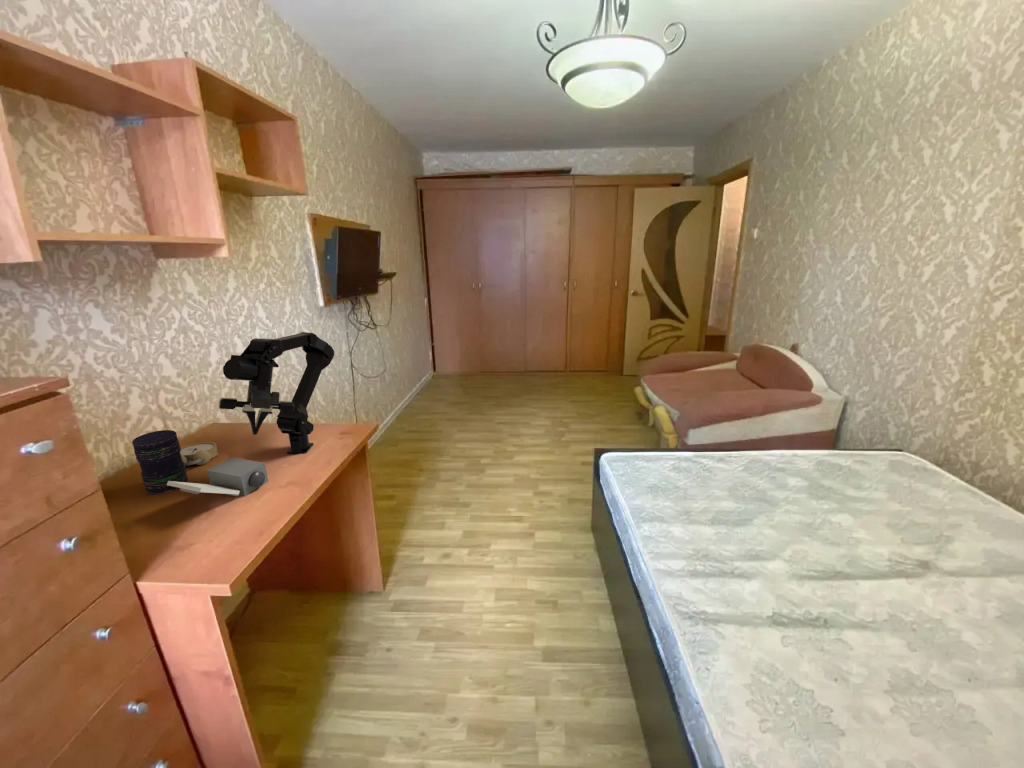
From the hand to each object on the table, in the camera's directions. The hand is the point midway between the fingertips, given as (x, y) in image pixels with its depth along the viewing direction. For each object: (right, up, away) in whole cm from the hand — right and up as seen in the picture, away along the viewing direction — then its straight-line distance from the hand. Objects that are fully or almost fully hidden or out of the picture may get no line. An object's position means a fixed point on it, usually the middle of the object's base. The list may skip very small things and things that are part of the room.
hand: (254, 434), depth 127 cm
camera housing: (-3, -14, -2) cm, 15 cm away
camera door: (-4, -15, -7) cm, 17 cm away
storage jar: (-24, -14, -2) cm, 28 cm away
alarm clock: (-26, -10, +12) cm, 30 cm away
